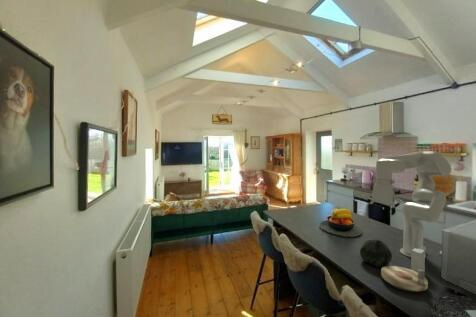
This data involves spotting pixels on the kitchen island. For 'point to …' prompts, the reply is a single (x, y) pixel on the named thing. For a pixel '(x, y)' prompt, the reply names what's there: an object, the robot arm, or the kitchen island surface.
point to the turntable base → (403, 289)
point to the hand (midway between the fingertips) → (382, 212)
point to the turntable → (405, 278)
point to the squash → (376, 253)
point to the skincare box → (417, 259)
